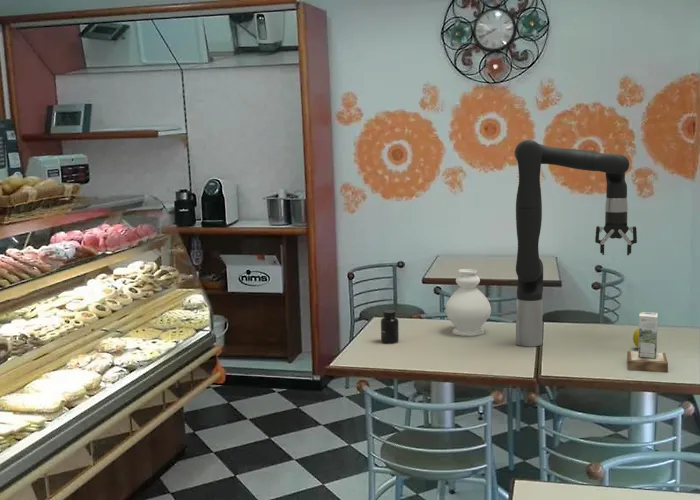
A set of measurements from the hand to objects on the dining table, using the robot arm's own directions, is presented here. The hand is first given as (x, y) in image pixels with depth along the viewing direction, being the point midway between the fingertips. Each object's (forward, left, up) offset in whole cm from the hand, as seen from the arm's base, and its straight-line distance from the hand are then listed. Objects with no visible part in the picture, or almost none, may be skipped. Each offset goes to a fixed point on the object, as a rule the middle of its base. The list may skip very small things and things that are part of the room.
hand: (615, 254), depth 280 cm
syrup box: (+10, -26, -30) cm, 41 cm away
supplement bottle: (-82, -13, -33) cm, 89 cm away
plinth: (+10, -26, -33) cm, 43 cm away
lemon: (+9, -6, -33) cm, 35 cm away
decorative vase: (-55, +7, -33) cm, 65 cm away
